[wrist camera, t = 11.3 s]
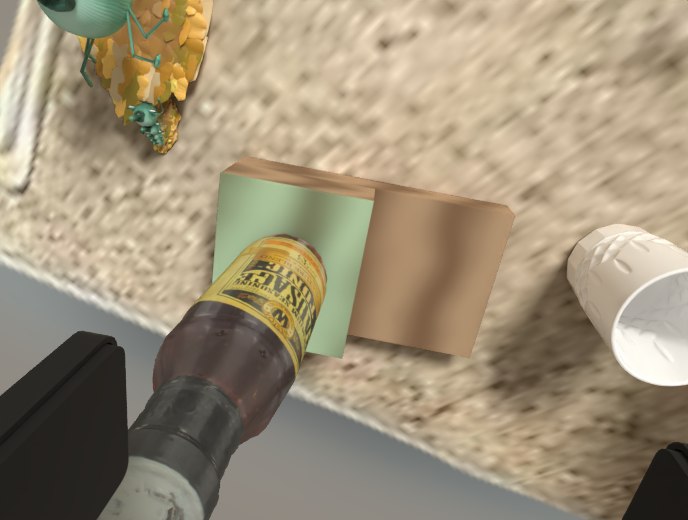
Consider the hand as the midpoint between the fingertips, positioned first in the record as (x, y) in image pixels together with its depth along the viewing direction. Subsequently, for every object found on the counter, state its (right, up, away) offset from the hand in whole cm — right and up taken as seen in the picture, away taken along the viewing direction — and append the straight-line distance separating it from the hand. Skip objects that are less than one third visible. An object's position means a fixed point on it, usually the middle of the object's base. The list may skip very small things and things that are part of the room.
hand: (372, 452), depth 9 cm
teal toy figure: (-14, +20, +26) cm, 36 cm away
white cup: (+20, +3, +29) cm, 36 cm away
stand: (+1, +4, +30) cm, 31 cm away
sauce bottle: (-5, +3, +25) cm, 26 cm away
